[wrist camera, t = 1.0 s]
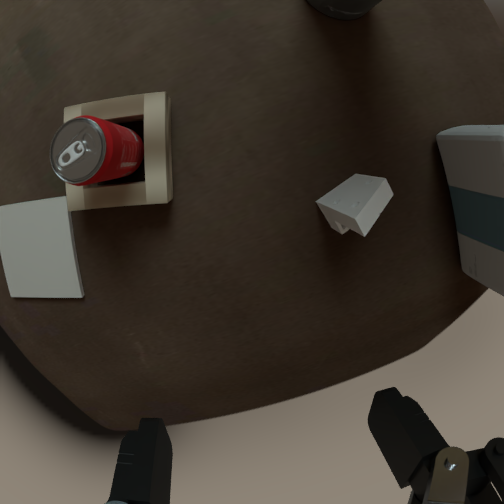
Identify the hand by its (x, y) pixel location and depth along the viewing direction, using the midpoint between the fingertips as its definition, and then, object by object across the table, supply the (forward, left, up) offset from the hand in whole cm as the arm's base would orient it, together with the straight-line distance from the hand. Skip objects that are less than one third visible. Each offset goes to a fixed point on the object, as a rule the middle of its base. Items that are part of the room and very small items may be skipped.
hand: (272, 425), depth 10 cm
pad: (-1, -24, -25) cm, 35 cm away
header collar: (-11, -11, -25) cm, 29 cm away
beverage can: (-11, -11, -25) cm, 29 cm away
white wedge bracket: (-5, +13, -25) cm, 28 cm away
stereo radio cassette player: (-6, +33, -25) cm, 42 cm away
